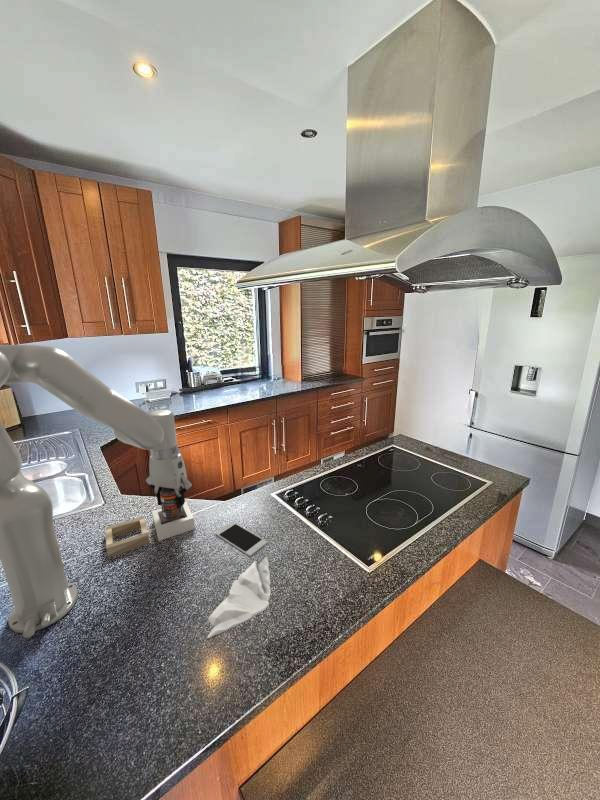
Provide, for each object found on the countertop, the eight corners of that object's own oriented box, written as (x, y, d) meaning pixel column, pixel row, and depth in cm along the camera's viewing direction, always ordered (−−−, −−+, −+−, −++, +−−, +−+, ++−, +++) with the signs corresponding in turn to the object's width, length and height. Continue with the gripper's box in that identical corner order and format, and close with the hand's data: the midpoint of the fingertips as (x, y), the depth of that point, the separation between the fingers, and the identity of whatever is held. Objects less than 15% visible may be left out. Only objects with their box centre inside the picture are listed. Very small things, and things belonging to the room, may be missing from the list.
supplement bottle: (164, 523, 98) (160, 490, 95) (161, 513, 103) (156, 481, 100) (185, 516, 101) (181, 484, 98) (180, 507, 106) (176, 476, 103)
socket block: (194, 528, 101) (193, 516, 100) (158, 541, 96) (156, 527, 95) (187, 511, 110) (185, 499, 109) (153, 521, 105) (151, 509, 104)
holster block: (149, 543, 95) (148, 535, 94) (108, 557, 90) (106, 548, 89) (145, 524, 104) (144, 516, 103) (107, 535, 99) (105, 527, 98)
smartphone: (250, 558, 90) (250, 555, 90) (214, 535, 99) (214, 532, 99) (267, 544, 95) (267, 541, 95) (233, 524, 104) (232, 521, 104)
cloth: (223, 658, 64) (222, 649, 63) (181, 621, 72) (180, 613, 71) (300, 574, 84) (300, 567, 84) (261, 552, 92) (260, 546, 92)
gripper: (197, 448, 98) (202, 501, 103) (148, 443, 102) (155, 494, 107) (182, 459, 91) (189, 515, 96) (130, 453, 95) (139, 507, 100)
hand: (171, 503), depth 101 cm, fingers closed on supplement bottle, 6 cm apart
